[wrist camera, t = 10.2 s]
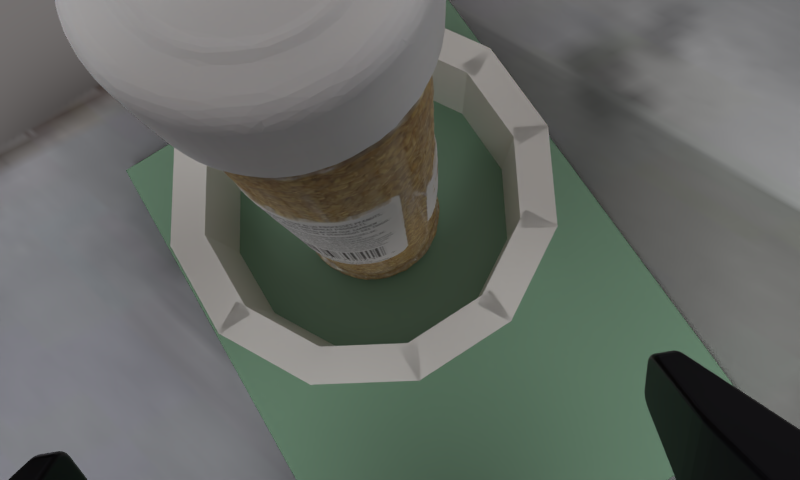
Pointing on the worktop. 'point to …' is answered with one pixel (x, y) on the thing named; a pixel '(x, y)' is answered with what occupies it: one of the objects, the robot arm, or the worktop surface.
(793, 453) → the robot arm
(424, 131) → the sprinkles bottle
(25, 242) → the worktop surface
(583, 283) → the practice green
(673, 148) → the worktop surface
